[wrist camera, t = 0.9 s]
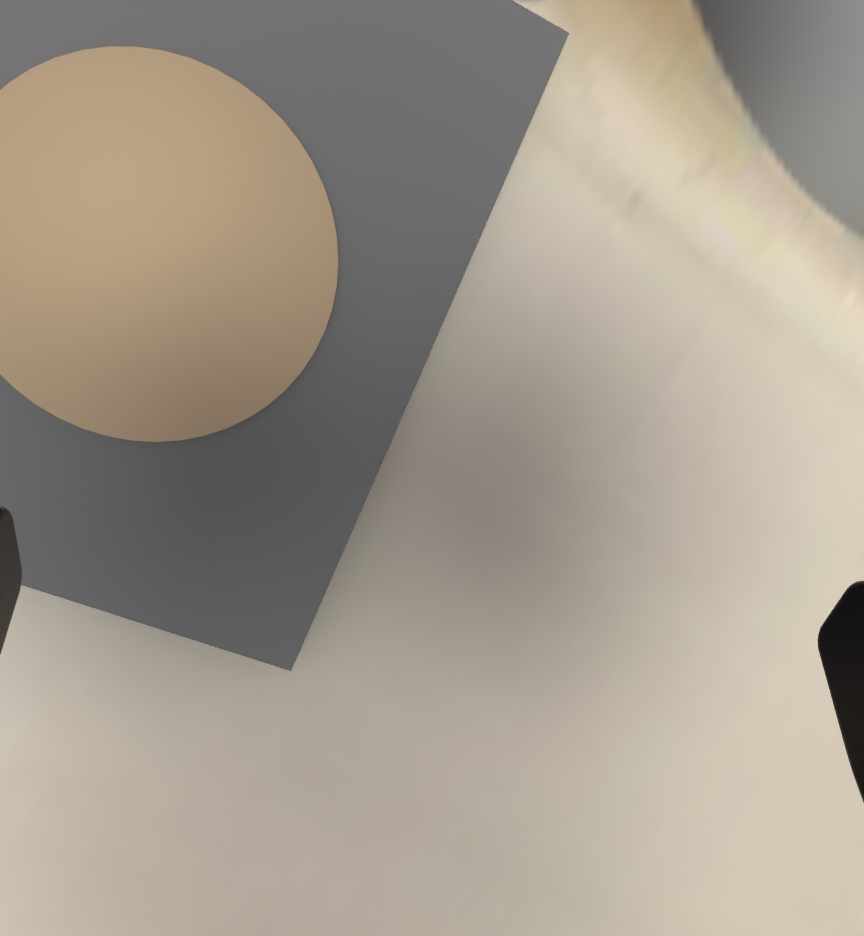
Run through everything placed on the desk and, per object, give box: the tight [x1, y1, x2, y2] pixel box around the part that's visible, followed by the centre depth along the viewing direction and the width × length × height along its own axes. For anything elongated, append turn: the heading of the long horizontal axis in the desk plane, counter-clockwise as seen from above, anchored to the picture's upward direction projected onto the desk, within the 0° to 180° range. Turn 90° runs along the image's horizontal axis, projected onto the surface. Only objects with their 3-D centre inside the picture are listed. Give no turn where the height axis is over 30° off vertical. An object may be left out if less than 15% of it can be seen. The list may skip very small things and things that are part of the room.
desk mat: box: [0, 0, 569, 671], centre depth 22 cm, size 20×16×1 cm
